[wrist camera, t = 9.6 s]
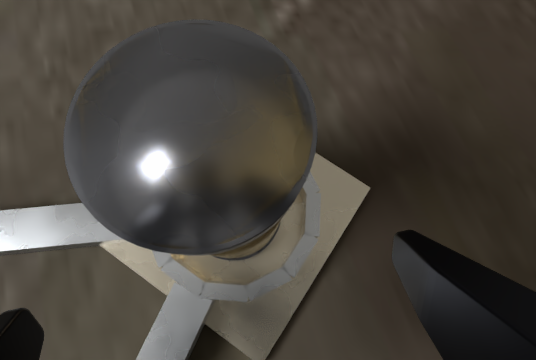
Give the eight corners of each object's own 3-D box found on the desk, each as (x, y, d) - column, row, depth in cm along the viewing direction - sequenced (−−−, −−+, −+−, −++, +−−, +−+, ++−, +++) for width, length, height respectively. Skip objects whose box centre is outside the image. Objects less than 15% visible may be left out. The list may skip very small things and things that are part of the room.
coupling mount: (367, 189, 21) (381, 180, 18) (135, 566, 16) (114, 618, 13) (129, 37, 23) (115, 12, 21) (-138, 323, 18) (-196, 332, 16)
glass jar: (297, 203, 20) (362, 97, 7) (246, 279, 19) (218, 311, 6) (225, 155, 20) (171, -18, 8) (171, 226, 19) (7, 155, 7)
